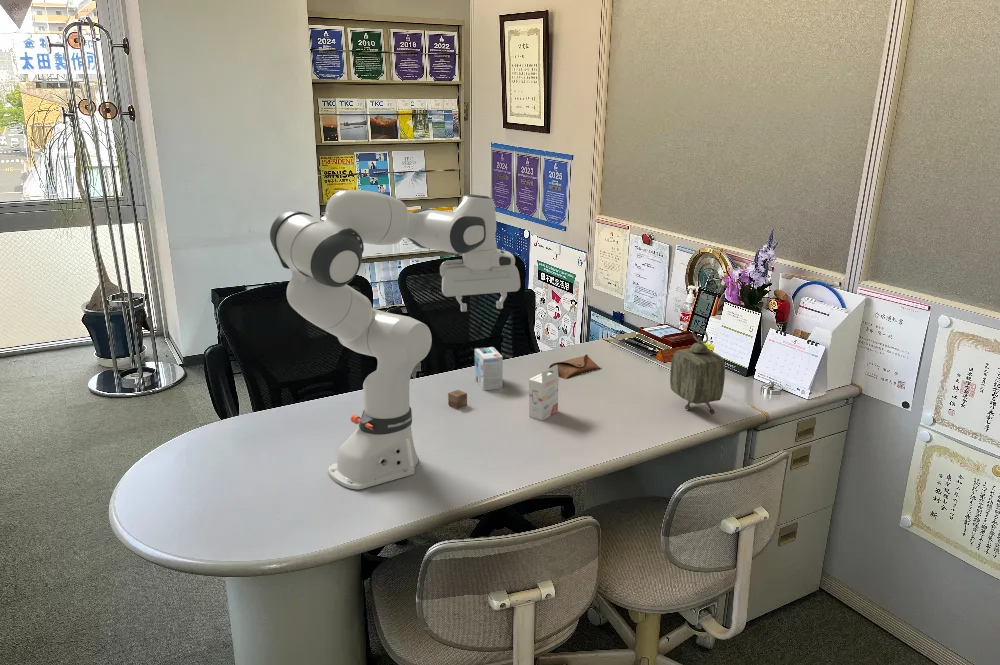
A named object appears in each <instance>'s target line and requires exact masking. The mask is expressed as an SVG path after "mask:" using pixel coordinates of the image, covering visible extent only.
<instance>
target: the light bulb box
mask: <svg viewBox="0 0 1000 665" xmlns="http://www.w3.org/2000/svg"><path fill="white" fill-rule="evenodd" d="M503 358H504V357H503V355H502V354H501V353H500V352H499V351H498V350H497V349H496V348H495V347H494V346H490V347H483V348H482V347H481V348H474V380H475V382H476V383H477V384H478V386H479V387H480V388H481V389H482V391H489V390H497V389H498V390H499V389H503V371H504V370H503V364H504V363H503V360H504V359H503Z"/></svg>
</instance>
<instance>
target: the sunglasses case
mask: <svg viewBox="0 0 1000 665" xmlns="http://www.w3.org/2000/svg"><path fill="white" fill-rule="evenodd" d="M556 365H558V375H559V376H558V378H561V379H564V380H567V379H571V378H573V377H576V375H577V376H579V375H582V373H583V374H587V373H589V371H590V372H592V370H594V371H597V370H596V369H599V370H601V369H600V368H601V366H599V365H598V364H597V363H596V362H594V360H593V359H592V358H591V357H589V356H588V354H585V355H583V356H578V357H574V358H570V359H567V360H563V361H558V362H554V363H551V364H550V365H549V368H551V367H554V366H556ZM549 368H548V369H549ZM586 372H587V373H586ZM550 373H553V371H550Z"/></svg>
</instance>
